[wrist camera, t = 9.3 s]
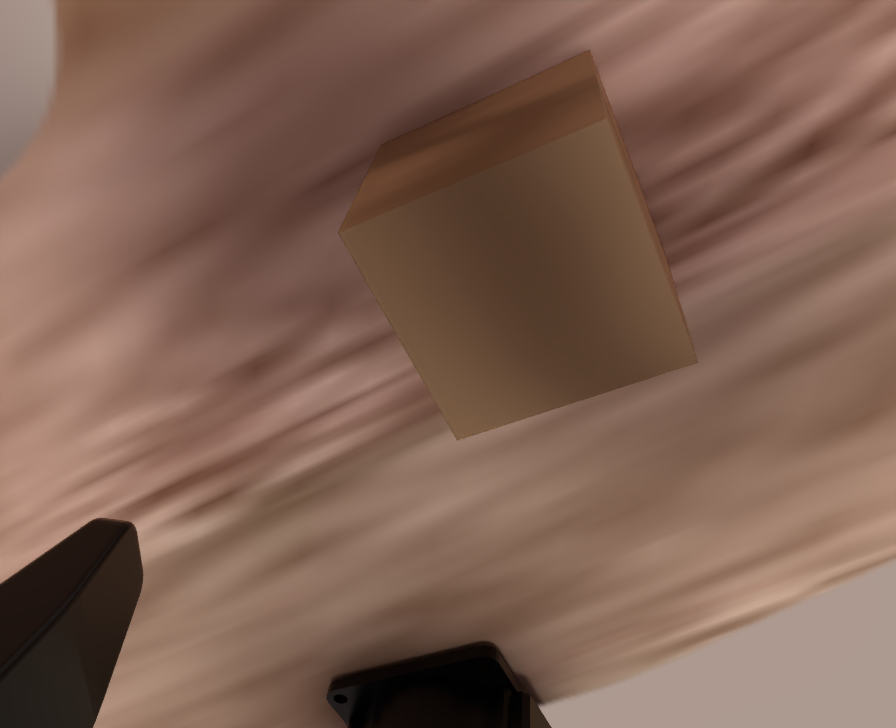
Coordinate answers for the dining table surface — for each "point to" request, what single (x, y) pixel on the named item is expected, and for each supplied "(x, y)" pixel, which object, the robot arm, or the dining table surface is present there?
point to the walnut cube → (519, 253)
